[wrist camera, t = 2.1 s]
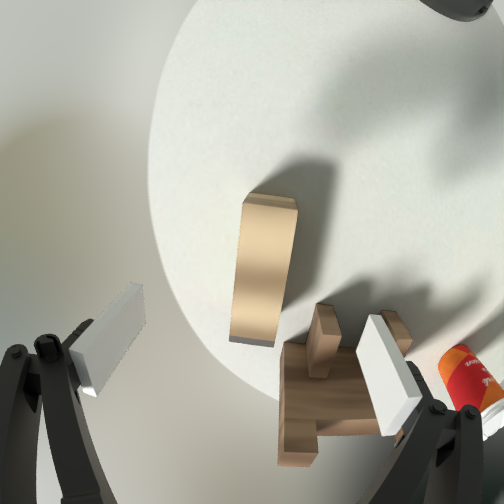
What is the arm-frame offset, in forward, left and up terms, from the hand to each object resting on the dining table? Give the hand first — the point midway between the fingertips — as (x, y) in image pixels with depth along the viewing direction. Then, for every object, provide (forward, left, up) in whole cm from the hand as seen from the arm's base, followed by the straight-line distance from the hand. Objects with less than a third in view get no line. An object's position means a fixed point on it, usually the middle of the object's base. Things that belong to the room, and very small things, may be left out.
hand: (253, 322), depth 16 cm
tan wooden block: (+2, 0, -15) cm, 16 cm away
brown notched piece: (+11, +12, -15) cm, 23 cm away
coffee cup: (+15, +32, -16) cm, 39 cm away
